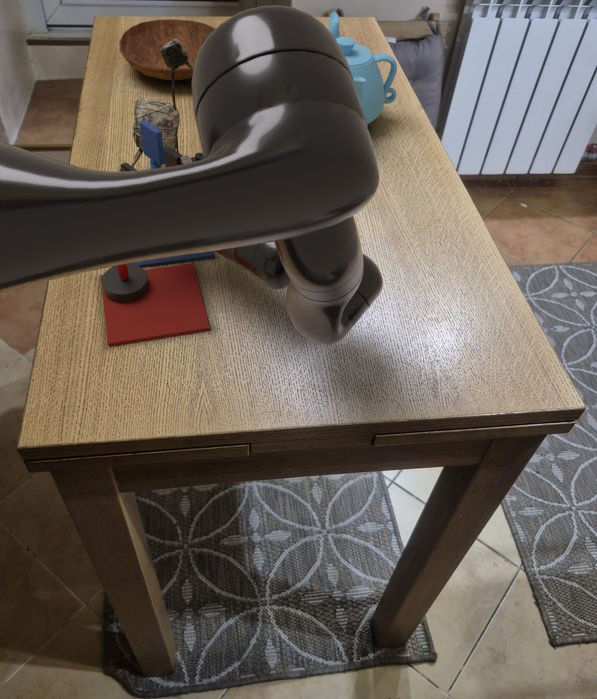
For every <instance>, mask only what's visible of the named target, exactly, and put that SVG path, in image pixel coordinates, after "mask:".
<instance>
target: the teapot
mask: <svg viewBox="0 0 597 699" xmlns="http://www.w3.org/2000/svg"><path fill="white" fill-rule="evenodd" d="M339 17H340V16H339V14H338V13H337V12H335V11H332V12H330V14H329V25H328V30H329V31H330V32H331V33H332V34H333V36H334V37H335V39H336V41H337V42H338V44H339V46H340V47H341V49H342V51H343V53H344V55H345V57H346V59H347V62H348V64H349V67H350V70H351V74H352V77H353V81H354V83H355V86H356V90H357V93H358V96H359V99H360V103H361V106H362V109H363V113H364V116H365V119H366V123H367V126H368V125H370V124H371V123H372V122H373V121H375V120H376V119H377V118H379V116H380V115H381V114H382V112H383V110H384V106H385V105H389V104H392V103H394V102H395V101H396V98H397V91H396V89H394V88H393V87H391V86H392V85H393V82H394V81H395V78H396V74H397V71H398V65H397V61H396V59H395V58H394V57H393V56H392V55H390V54H388V53H383V52H382V53H376V54H374V55H373V53H372V51H371V50H370V49H369V48H368V47H366V46H364V45H362V44H361V43H357V42H356V40H355V39H354V38H351V37H349V36H341V35H340V33H341V32H340V18H339ZM379 62H387V63H389V64H390V69H389V73H388V75H387V77H386V80H385V82H384V79H383V76H382V72H381V70H380V68H379V65H378V63H379ZM388 94H391V95H389V96H387V95H388Z"/></svg>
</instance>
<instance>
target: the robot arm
mask: <svg viewBox="0 0 597 699" xmlns="http://www.w3.org/2000/svg"><path fill="white" fill-rule="evenodd" d="M191 95H192V108H193V115H194V119H195V124H196V128H197V132H198V137H199V142H200V147H201V151H202V152H195V154H194V156H193V157H190V155H187V154H186V155H184V154H181V153H180V152H179V153H178V152H177V150H176V151H175V150H174V149H171V148H168V147H166V146H163V148H164V157H165V165H167V166H168V167H166V168H157V169H151V168H149V169H140V170H138V169H136V168H135V166H134V167H132V166H131V164H130V163H128V162H127V161H125V162H123V163H120V165H119V167H120V168H119V171H109V170H100V169H99V170H98V169H93V168H87V167H82V166H78V165H74V164H71V163H67V162H64V161H60V160H57V159H54V158H51V157H48V156H45V155H42V154H39V153H37V152H34V151H31V150H28V149H25V148H23V147H19V146H16V145H13V144H10V143H7V142H4V141H0V294H2V293H5V292H8V291H12V290H16V289H20V288H24V287H29V286H32V285H37V284H40V283H45V282H50V281H54V280H58V279H64V278H67V277H72V276H76V275H80V274H83V273H88V272H93V271H98V270H103V269H110V268H111V267H113V266H119V265H124V264H129V263H135V262H141V261H147V260H154V259H160V258H167V257H174V256H181V255H188V254H195V253H202V252H209V251H213V252H214V253H216V254H218V255H219V256H221V257H222V258H224V259H225V260H227V261H228V262H230V263H232V264H234V265H236V266H238V267H239V268H241V269H242V270H243V271H245V272H246V273H247V274H249V275H250V276H252V277H253V278H254V279H256V280H257V281H258V282H259V283H261V284H262V285H264V286H265V287H267V288H269V289H271V290H275V291H276V290H278V291H279V290H283V289H286V293H285V307H286V311H287V314H288V317H289V319H290V321H291V323H292V325H293V326H294V328H295V329H296V330H297V331H298V333H299V334H300V335H302V337H304V338H305V339H306V340H308V341H309V342H311V343H314V344H316V345H321V346H330V345H335V344H336V343H339V342H340V341H342V340H343V339H344V338H345V337H346V336H347V335H348V334H349V333H350V331H351V330H352V329H353V327H354V326H356V324H357V322H359V321H360V319H361V318H362V317H363V315H365V313H366V312H367V311H368V309H369V308H370V307H371V306H372V305H373V303H375V301H376V300H377V299H378V297H379V296H380V294H381V293H382V291H383V287H384V278H383V274H382V272H381V270H380V268H379V266H378V265H377V263H375V261H374V260H373V259H372V258H370V257H369V256H368V255H367V254H365V253H363V249H362V243H361V238H360V233H359V230H358V225H357V221H356V219H355V215H356V214H358V213H359V212H360V211H363V209H364V208H365V207H367V205H368V204H369V203H370V202H371V201H372V199H373V198H374V197H375V195H376V193H377V191H378V188H379V183H380V171H379V164H378V159H377V155H376V151H375V148H374V144H373V140H372V136H371V133H370V131H369V129H368V128H369V126H368V125H367V123H366V119H365V116H364V113H363V109H362V106H361V103H360V99H359V96H358V93H357V90H356V86H355V83H354V81H353V77H352V74H351V70H350V67H349V64H348V62H347V59H346V57H345V55H344V53H343V51H342V49H341V47H340V46H339V44H338V42H337V41H336V39H335V37H334V36H333V34H332V33H331V32H330V31H329V28H327V26H326V25H325V24H324V23H323V22H322V21H321V20H319V19H317V18H316V17H314V16H313V15H312V14H310V13H309V12H306V11H304V10H301V9H298V8H296V7H292V6H285V5H279V4H278V5H277V4H276V5H275V4H274V5H261V6H257V7H254V8H248V9H244V10H243V11H240V12H237V13H236V14H234V15H232V16H231V17H229V18H227V19H226V20H224V21H223V22H221V23H219V25H218V26H217V27H215V30H214V31H213V32H212V33H211V34H210V35H209V36H208V37H207V39H206V40H205V42H204V43H203V45H202V46H201V48H200V50H199V53H198V55H197V58H196V60H195V63H194V69H193V76H192V78H191Z"/></svg>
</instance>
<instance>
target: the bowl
mask: <svg viewBox="0 0 597 699" xmlns="http://www.w3.org/2000/svg"><path fill="white" fill-rule="evenodd" d="M215 29H216V27H214V26H211V25H209V24H207V23H204V22H199V21H194V20H188V19H187V20H186V19H154V20H148V21H142V22H138V23H137V24H135V25H133V26H131V27H129V28H128V29H127V30H126V31H125V32H123V33H122V36H121V37H120V40H119V42H118V44H119V45H118V46H119V48H118V49H119V52H120V54H121V55H122V57H123V58H124V59H125V60H126V62H127V63H128V64H129V65H130V66H131V67H132V68H133V69H134V70H136V71H138V72H140V73H141V74H143V75H145V76H147V77H151V78H156V79H159V80H163V81H172V80H171V68H168V66H167V65H166V63H165V61H164V58H163V57H162V55H161V52H160V51H161V48H162V47H163V46H164V45H165V44H167V43H169V42H171V41H173V40H174V39H177V40H179V42H180V43H181V44H182V45H183V48H184V49H185V50H186V52H187V54H188V57H189V59H188V62H189V63H190V65H191V66H192V68H189V67H188V66H187V65H185V64H183V66H180V67H179V68H178V69H176V70H175V81H182V80H189V79H192V76H193V69H194V63H195V60H196V58H197V55H198V53H199V50H200V48H201V46H202V45H203V43H204V42H205V40H206V39H207V37H208V36H209V35H210V34H211V33H212V32H213V31H214V30H215Z"/></svg>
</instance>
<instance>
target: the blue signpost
mask: <svg viewBox="0 0 597 699" xmlns="http://www.w3.org/2000/svg"><path fill="white" fill-rule="evenodd" d="M139 123H140V130H141V138H142V145H143V155H144V156H146V158H148V159H149V166H150V169H157V168H160V166H161V165H163V164H165V157H164V148H163V139H162V131H161V130H159V129H158V128H156V127H154V126H153V125H151V124H150V123H148V122H147V121H145V120H143V121H140V122H139Z"/></svg>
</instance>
